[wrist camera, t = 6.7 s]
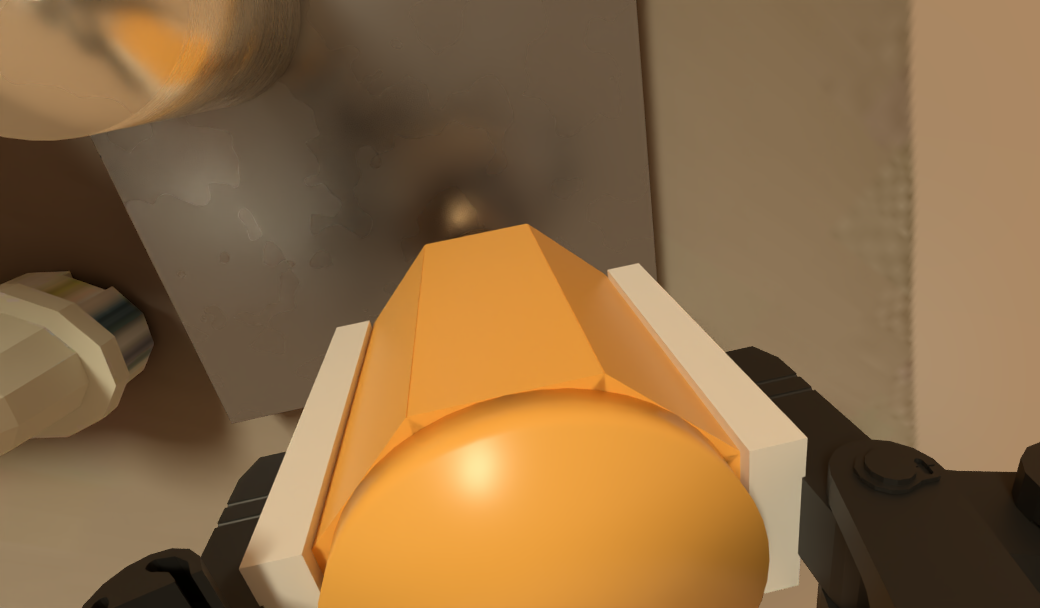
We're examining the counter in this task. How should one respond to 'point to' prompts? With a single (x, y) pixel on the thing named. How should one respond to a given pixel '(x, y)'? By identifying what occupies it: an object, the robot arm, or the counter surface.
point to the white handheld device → (64, 355)
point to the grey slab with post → (334, 149)
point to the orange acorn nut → (530, 450)
